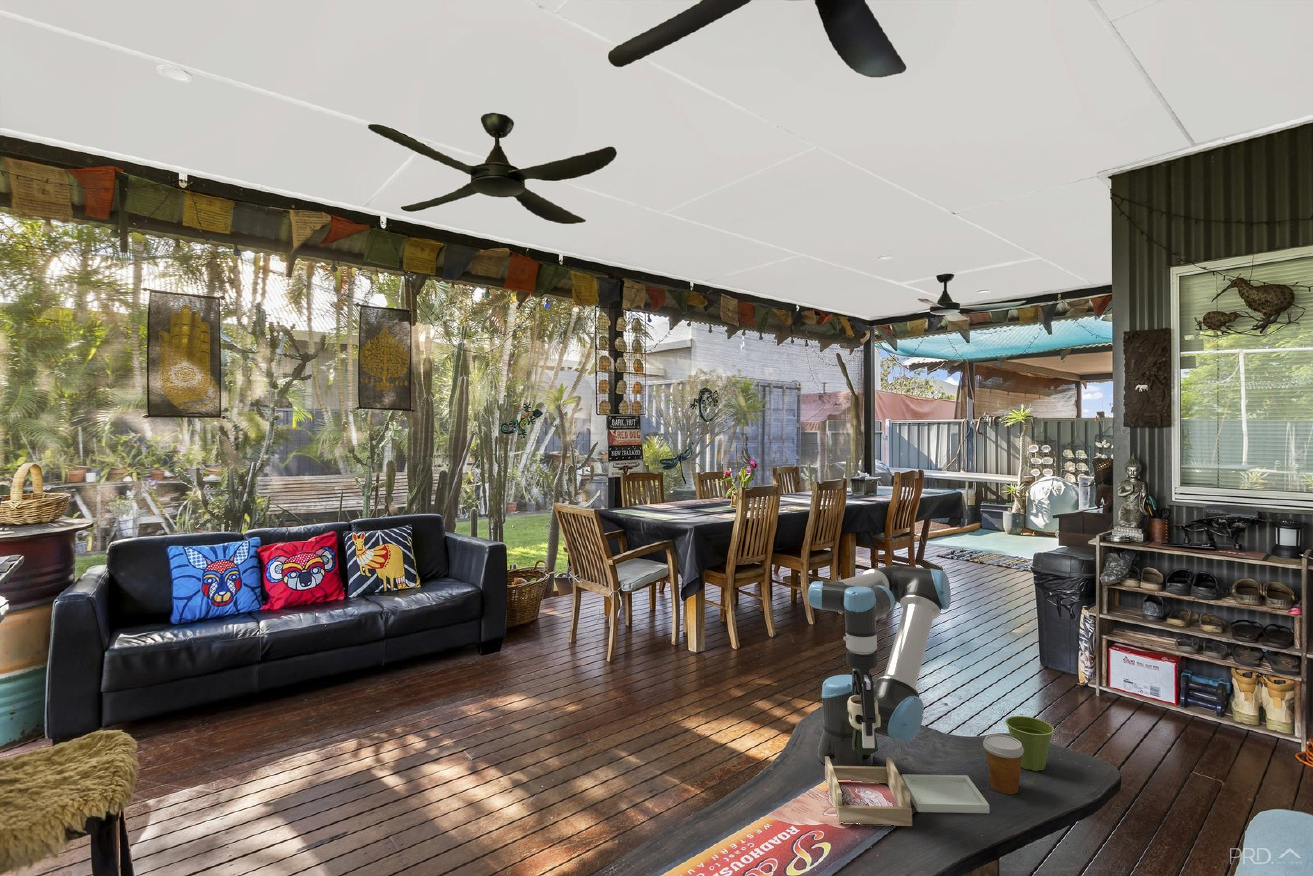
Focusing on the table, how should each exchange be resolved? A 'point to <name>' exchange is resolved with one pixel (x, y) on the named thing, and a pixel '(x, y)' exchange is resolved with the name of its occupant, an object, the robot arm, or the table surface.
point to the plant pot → (1031, 740)
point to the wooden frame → (870, 814)
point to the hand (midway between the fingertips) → (864, 738)
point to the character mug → (855, 718)
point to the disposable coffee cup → (1003, 762)
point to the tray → (945, 794)
